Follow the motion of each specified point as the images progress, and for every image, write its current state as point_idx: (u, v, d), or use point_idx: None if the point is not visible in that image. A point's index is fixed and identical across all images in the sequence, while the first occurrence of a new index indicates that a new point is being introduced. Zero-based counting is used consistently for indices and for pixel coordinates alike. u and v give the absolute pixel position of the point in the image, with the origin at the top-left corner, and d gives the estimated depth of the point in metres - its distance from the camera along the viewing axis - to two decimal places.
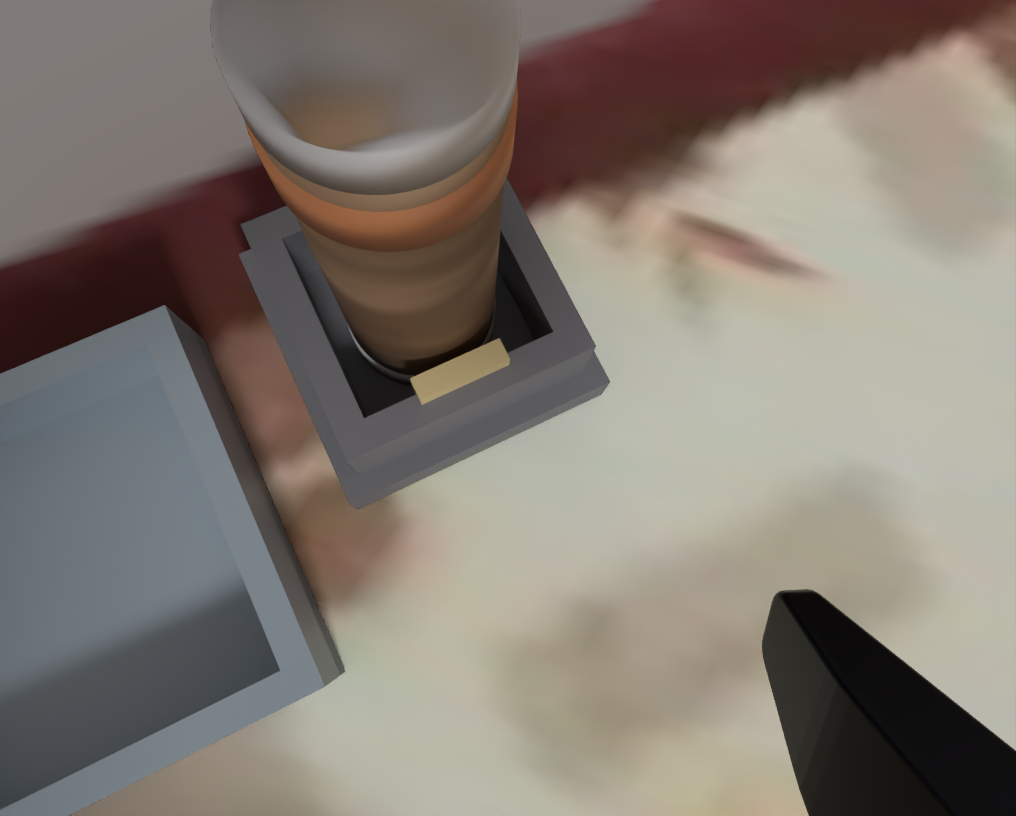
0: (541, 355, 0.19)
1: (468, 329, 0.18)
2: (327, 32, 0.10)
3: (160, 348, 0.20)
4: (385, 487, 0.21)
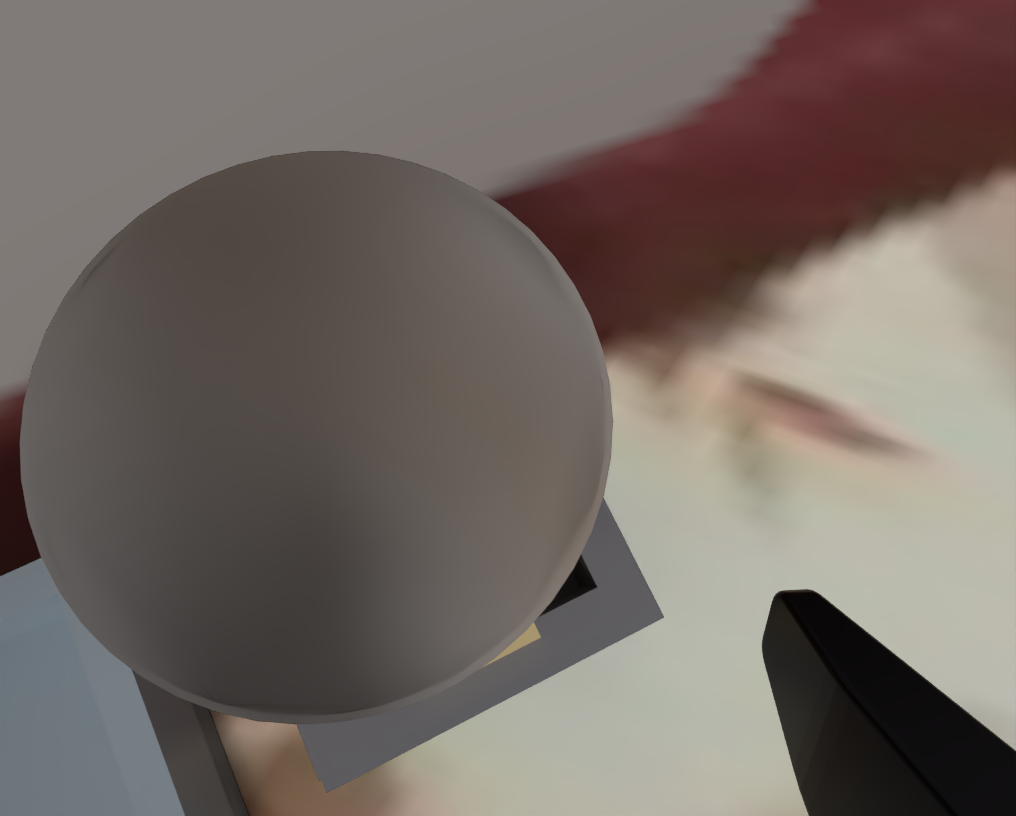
0: (581, 621, 0.14)
1: None
2: (245, 446, 0.05)
3: None
4: (373, 768, 0.16)
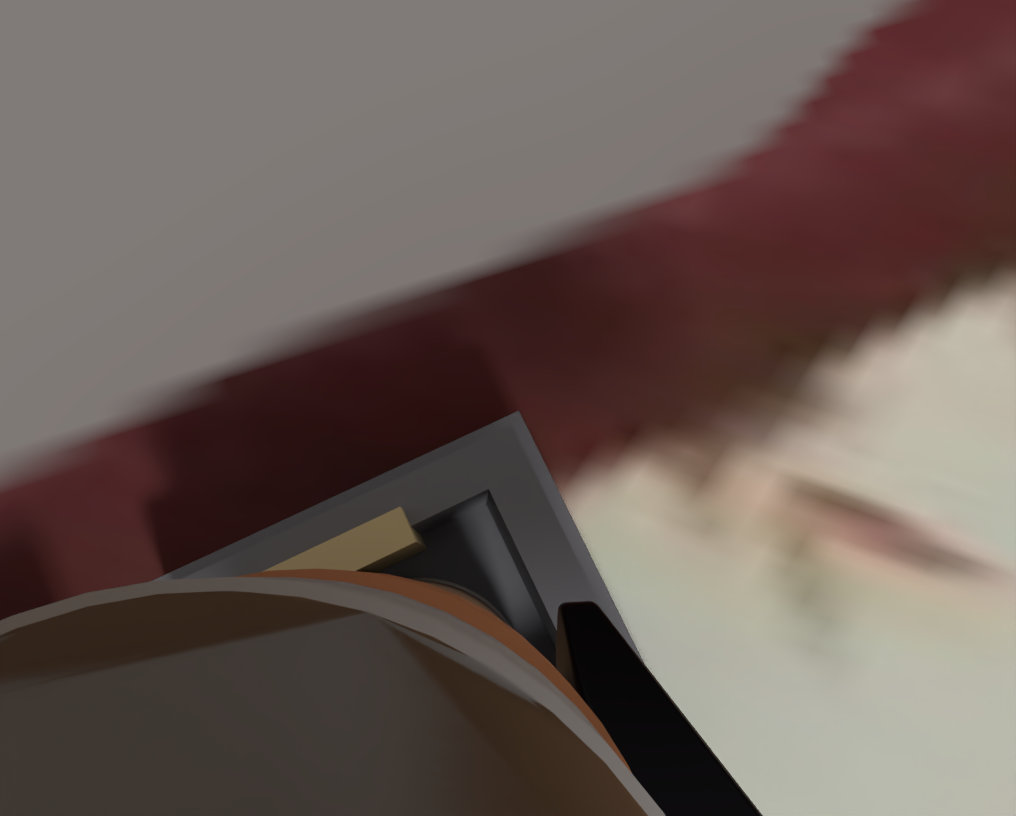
0: None
1: None
2: None
3: None
4: None
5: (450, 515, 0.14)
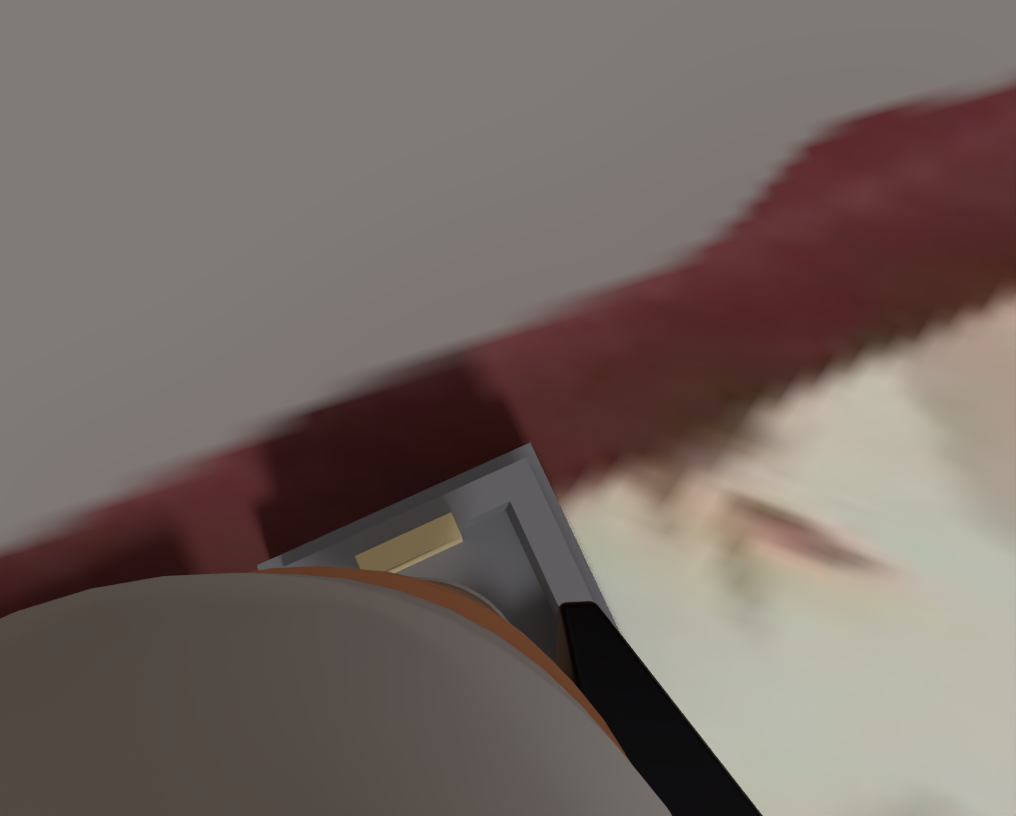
0: None
1: None
2: None
3: None
4: None
5: (481, 518, 0.20)
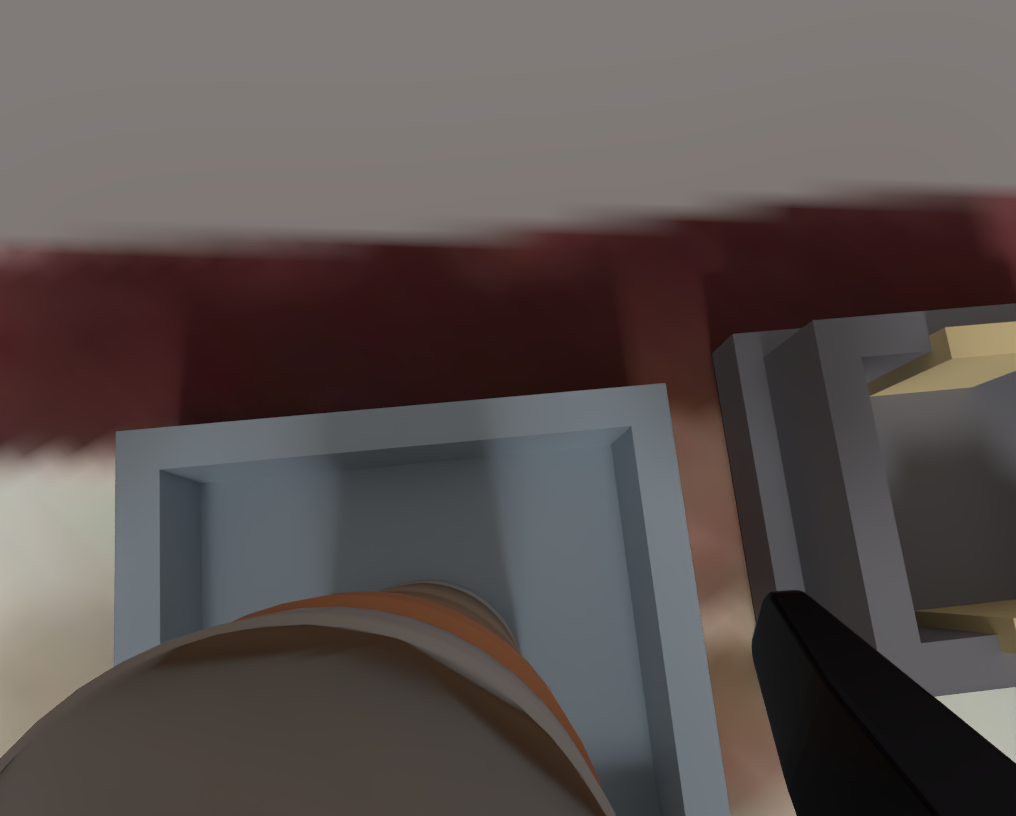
0: None
1: None
2: None
3: (646, 438, 0.15)
4: None
5: None
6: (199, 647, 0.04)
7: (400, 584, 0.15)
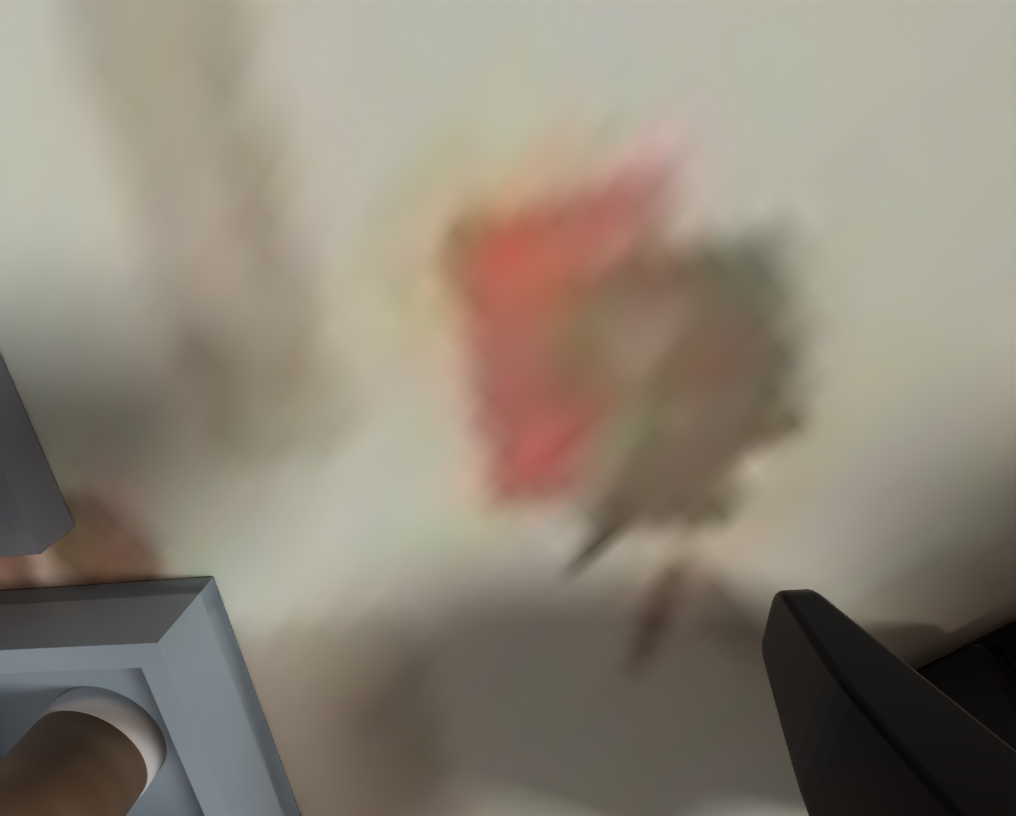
0: None
1: (66, 797, 0.21)
2: None
3: None
4: (25, 522, 0.21)
5: None
6: None
7: None
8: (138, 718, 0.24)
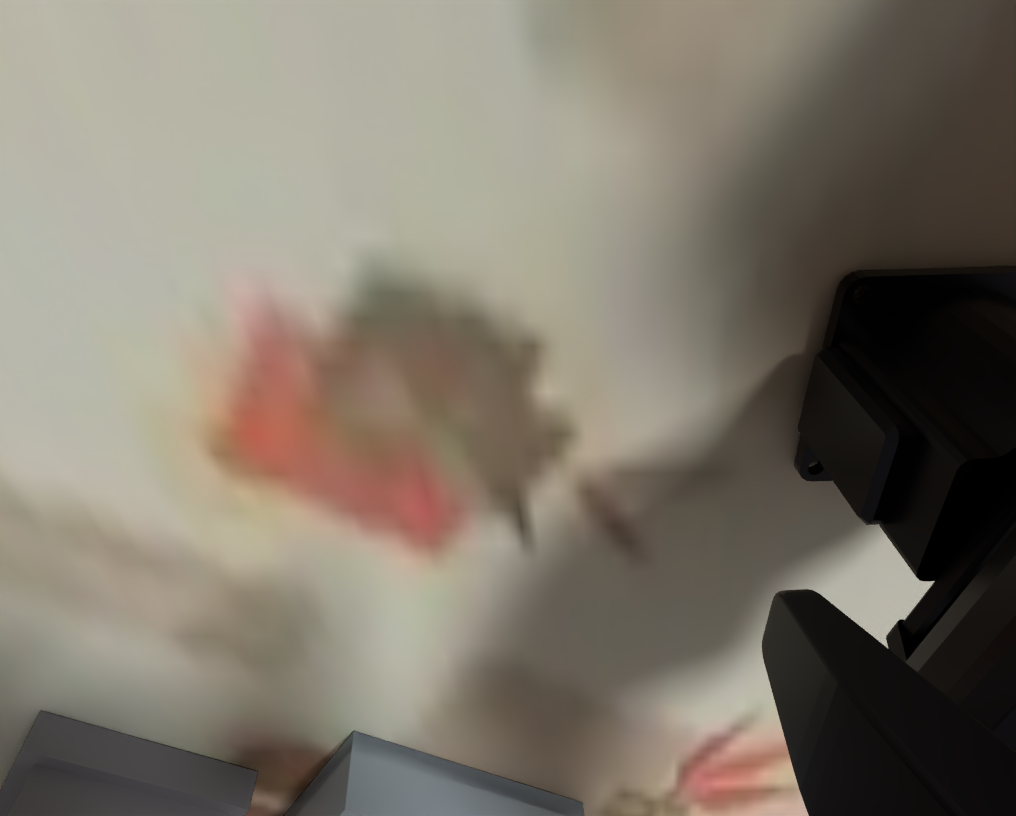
0: None
1: None
2: None
3: None
4: (221, 802, 0.28)
5: None
6: None
7: None
8: None
